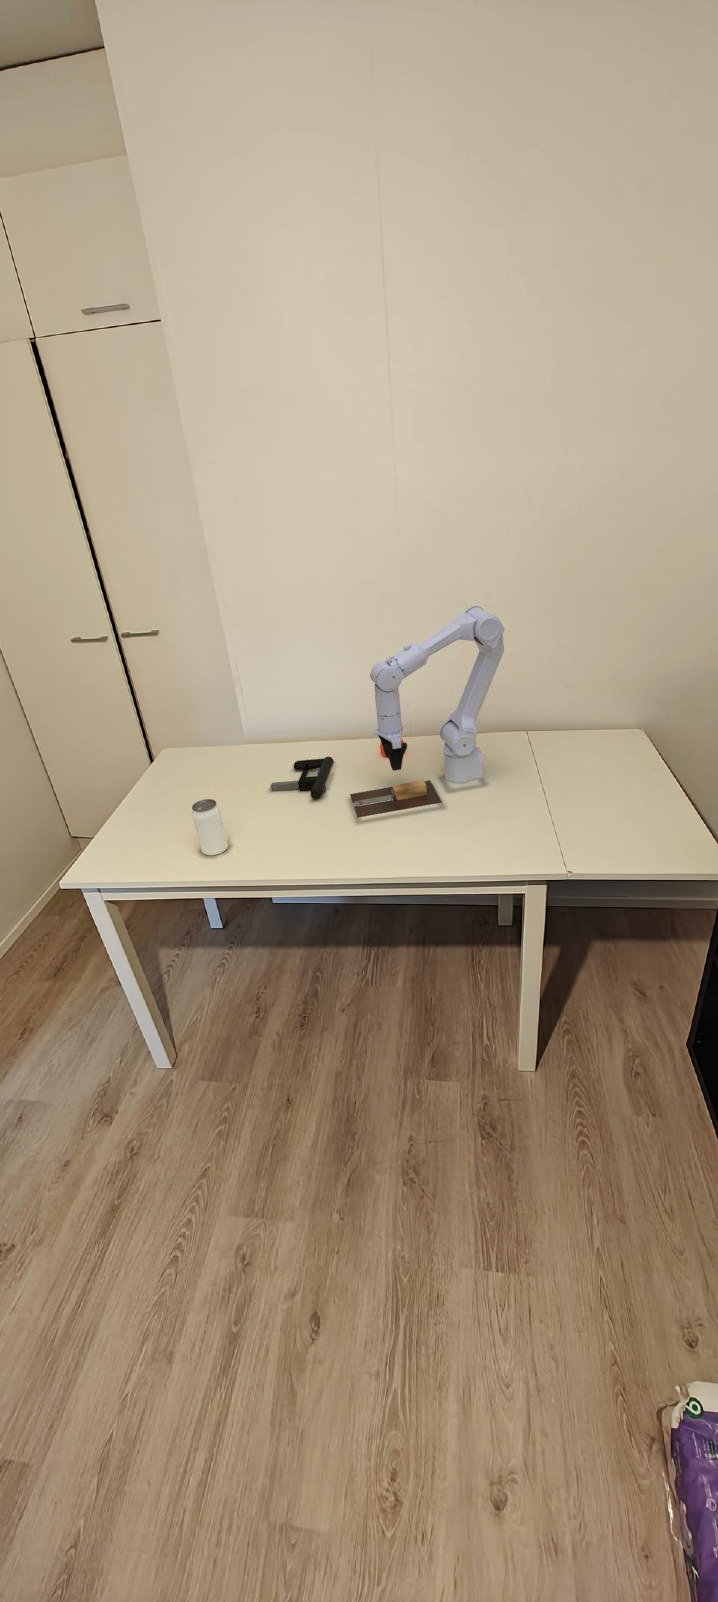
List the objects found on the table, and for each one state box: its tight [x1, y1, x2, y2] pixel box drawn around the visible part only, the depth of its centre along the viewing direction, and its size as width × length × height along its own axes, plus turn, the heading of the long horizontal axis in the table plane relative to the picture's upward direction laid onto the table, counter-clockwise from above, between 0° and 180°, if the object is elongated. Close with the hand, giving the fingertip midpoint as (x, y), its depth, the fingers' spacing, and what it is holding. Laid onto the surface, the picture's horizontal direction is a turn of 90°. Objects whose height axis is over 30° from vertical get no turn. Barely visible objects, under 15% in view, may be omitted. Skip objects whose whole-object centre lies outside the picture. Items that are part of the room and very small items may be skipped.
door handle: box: [270, 756, 335, 800], centre depth 191 cm, size 3×20×16 cm
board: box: [349, 779, 443, 819], centre depth 177 cm, size 21×12×2 cm, turn 99°
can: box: [191, 798, 229, 857], centre depth 165 cm, size 6×6×12 cm
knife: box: [353, 779, 427, 807], centre depth 176 cm, size 18×3×3 cm, turn 99°
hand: (393, 762), depth 176 cm, fingers open, 7 cm apart
